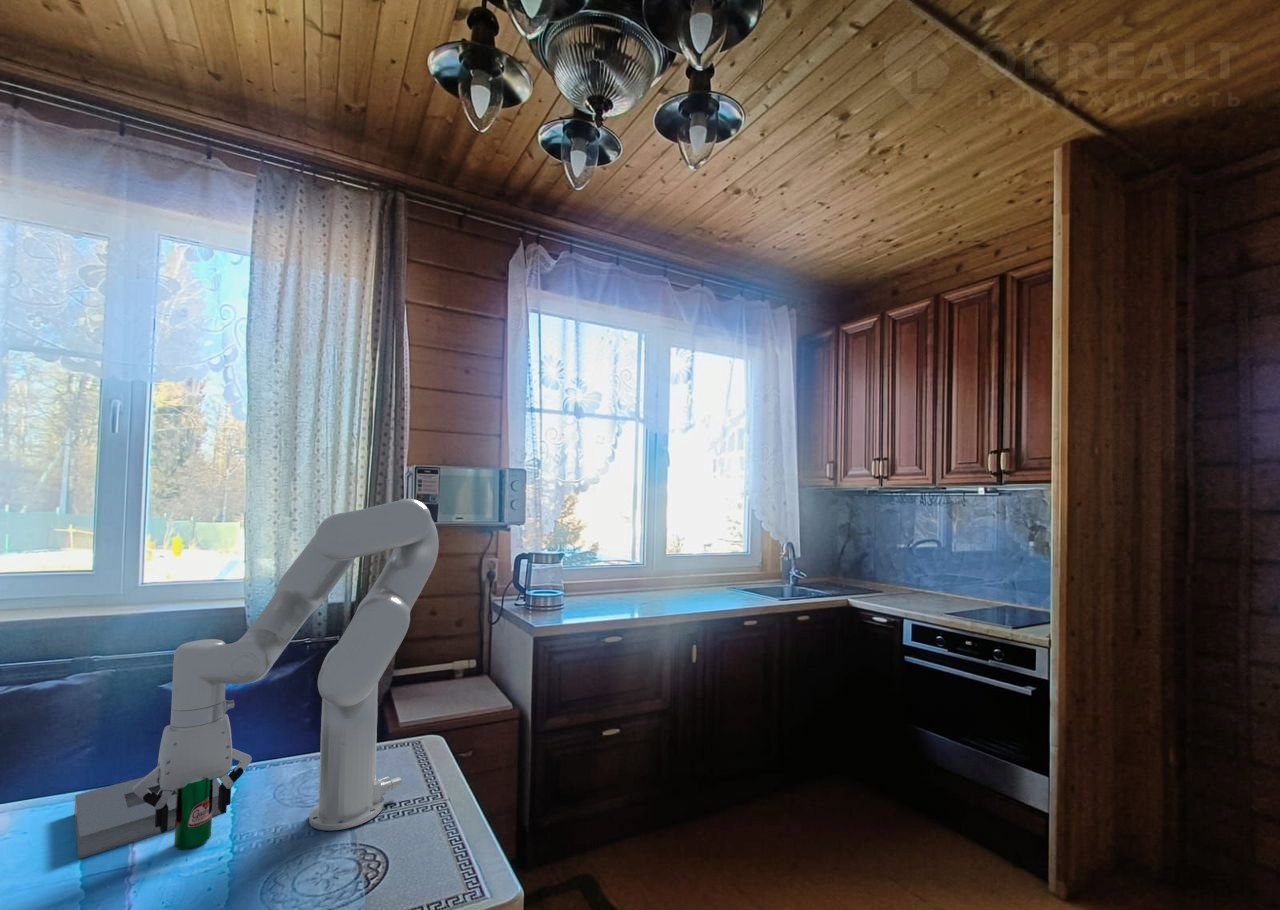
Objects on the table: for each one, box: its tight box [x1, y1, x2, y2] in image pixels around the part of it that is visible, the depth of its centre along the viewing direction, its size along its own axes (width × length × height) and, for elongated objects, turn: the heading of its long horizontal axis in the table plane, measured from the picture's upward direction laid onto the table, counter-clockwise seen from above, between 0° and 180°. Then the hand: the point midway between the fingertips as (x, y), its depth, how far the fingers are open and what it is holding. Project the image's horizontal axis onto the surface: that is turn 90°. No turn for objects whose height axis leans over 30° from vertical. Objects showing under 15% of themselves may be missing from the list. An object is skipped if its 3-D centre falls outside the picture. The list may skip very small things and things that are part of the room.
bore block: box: [73, 776, 223, 860], centre depth 111 cm, size 20×20×4 cm
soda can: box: [173, 777, 213, 851], centre depth 102 cm, size 5×5×12 cm
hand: (193, 819), depth 101 cm, fingers open, 7 cm apart
